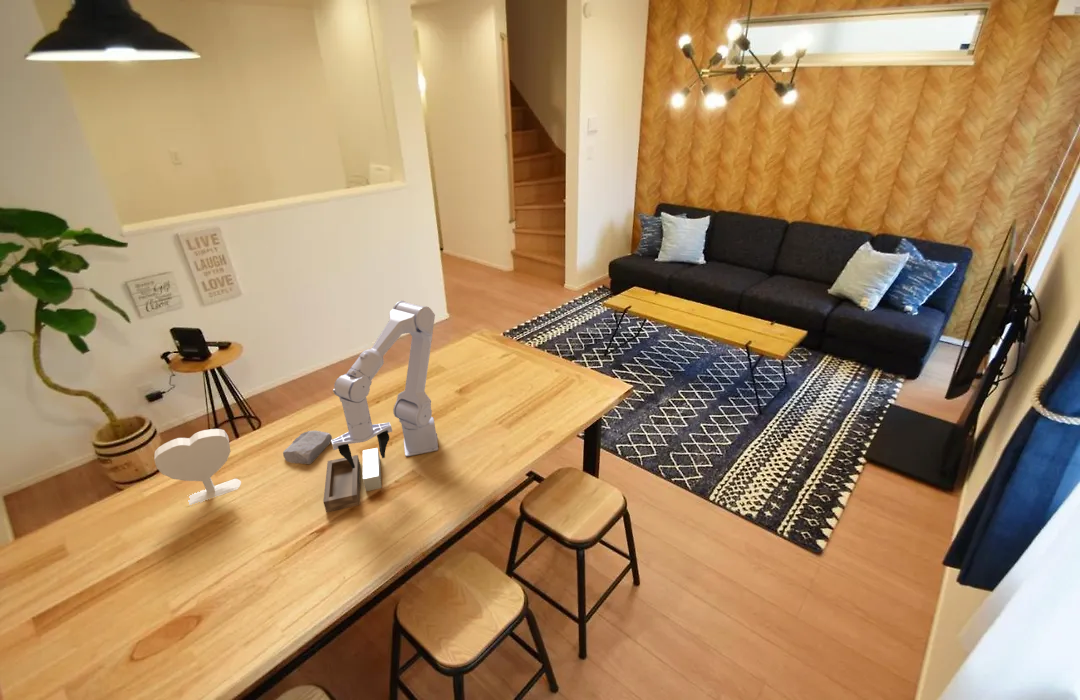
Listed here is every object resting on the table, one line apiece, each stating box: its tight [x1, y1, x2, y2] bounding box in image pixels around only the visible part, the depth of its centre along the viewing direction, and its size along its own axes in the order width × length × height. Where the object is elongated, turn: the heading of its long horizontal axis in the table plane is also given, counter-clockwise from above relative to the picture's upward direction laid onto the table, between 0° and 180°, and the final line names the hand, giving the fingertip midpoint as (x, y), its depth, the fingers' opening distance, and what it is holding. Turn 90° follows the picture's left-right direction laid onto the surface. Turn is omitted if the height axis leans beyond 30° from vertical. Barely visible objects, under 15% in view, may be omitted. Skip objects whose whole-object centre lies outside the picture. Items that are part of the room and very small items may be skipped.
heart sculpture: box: [154, 428, 242, 505], centre depth 125 cm, size 16×5×18 cm, turn 124°
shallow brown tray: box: [323, 454, 361, 513], centre depth 130 cm, size 8×16×4 cm, turn 17°
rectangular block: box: [362, 447, 382, 492], centre depth 134 cm, size 4×12×4 cm, turn 18°
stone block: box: [282, 430, 333, 465], centre depth 144 cm, size 12×5×10 cm
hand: (368, 460), depth 128 cm, fingers open, 7 cm apart
